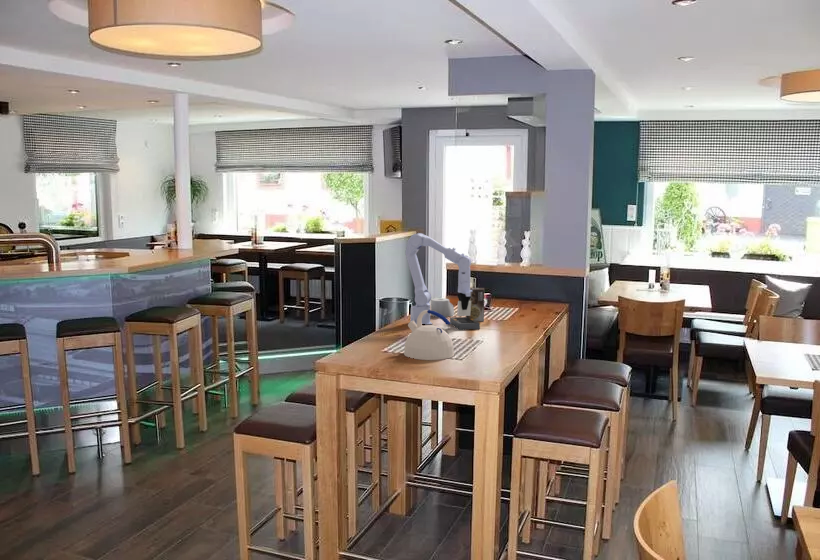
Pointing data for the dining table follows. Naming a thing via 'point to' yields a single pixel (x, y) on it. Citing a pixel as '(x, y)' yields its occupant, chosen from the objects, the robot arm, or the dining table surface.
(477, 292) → the coffee box
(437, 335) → the kettle
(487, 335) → the dining table surface
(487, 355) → the dining table surface
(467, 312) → the panel
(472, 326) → the rack
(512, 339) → the dining table surface
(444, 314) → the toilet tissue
